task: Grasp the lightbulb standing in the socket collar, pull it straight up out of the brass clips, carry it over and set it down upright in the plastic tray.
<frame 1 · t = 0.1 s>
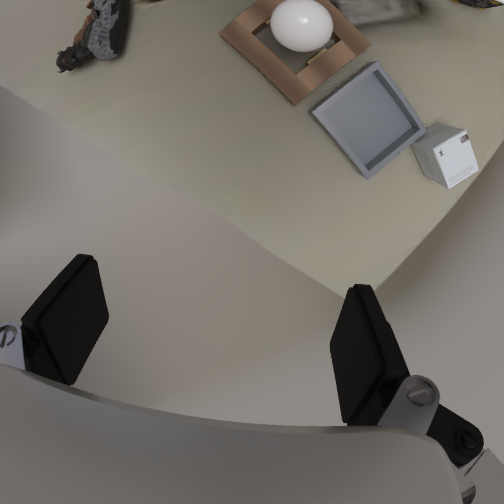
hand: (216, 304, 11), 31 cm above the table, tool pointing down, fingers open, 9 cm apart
tray: (366, 118, 35), on the table
lightbulb: (294, 38, 30), resting in socket collar
socket collar: (294, 38, 30), on the table
skincare box: (430, 147, 36), on the table
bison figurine: (102, 30, 29), on the table
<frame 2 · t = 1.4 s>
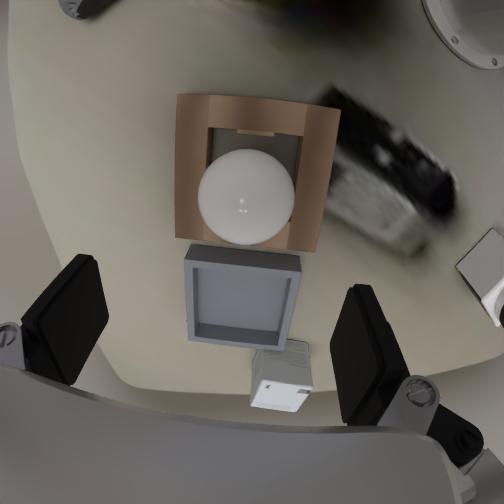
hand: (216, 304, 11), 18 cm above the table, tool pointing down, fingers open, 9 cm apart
tray: (241, 293, 33), on the table
lightbulb: (252, 168, 27), resting in socket collar
socket collar: (252, 168, 26), on the table
skincare box: (279, 351, 38), on the table
medicine bottle: (482, 261, 30), on the table
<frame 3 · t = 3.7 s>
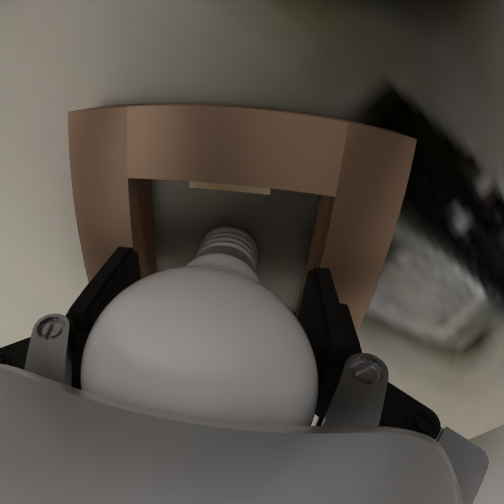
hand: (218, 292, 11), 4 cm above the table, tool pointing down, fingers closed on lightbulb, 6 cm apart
lightbulb: (230, 244, 15), resting in socket collar, touching gripper
socket collar: (229, 246, 14), on the table
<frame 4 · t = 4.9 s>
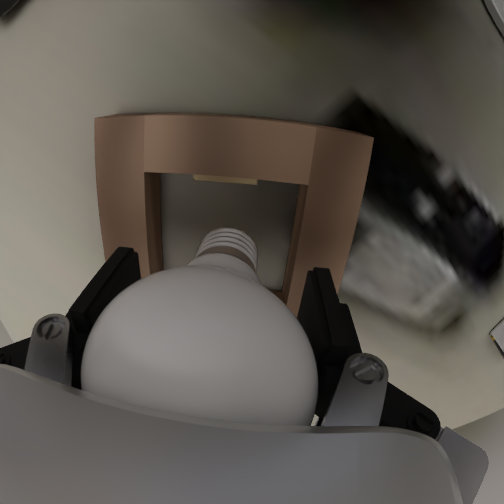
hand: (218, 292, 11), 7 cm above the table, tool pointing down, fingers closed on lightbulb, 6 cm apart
lightbulb: (230, 244, 15), point 3 cm above the table, touching gripper
socket collar: (225, 230, 17), on the table
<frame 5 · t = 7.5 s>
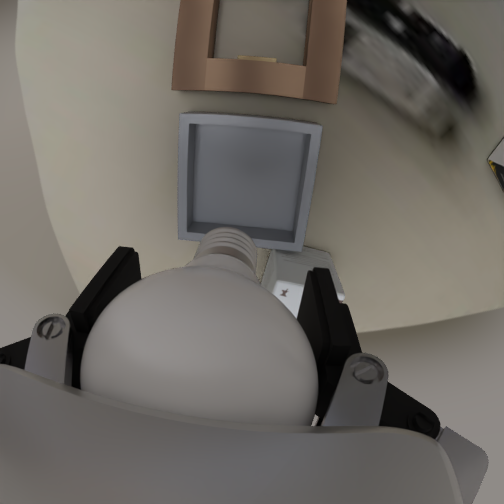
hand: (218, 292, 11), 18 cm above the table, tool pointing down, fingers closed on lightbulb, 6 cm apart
tray: (246, 175, 27), on the table
lightbulb: (229, 244, 14), point 14 cm above the table, touching gripper
socket collar: (261, 24, 20), on the table
skincare box: (294, 268, 31), on the table
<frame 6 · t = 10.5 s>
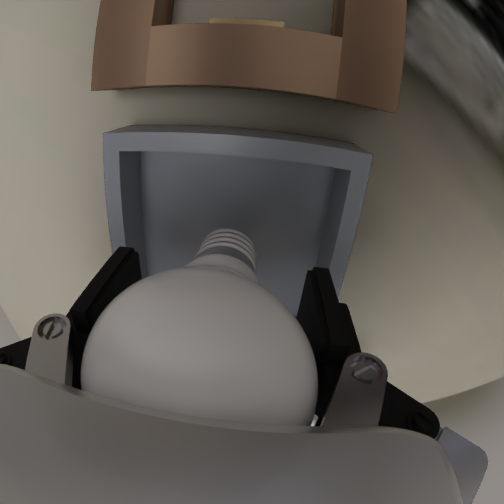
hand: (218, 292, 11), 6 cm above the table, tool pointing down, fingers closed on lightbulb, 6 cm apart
tray: (231, 232, 16), on the table
lightbulb: (229, 244, 15), point 2 cm above the table, touching gripper
when the fingers open (6 cm above the table, at t = 10.6 s): lightbulb drops 1 cm, resting on tray.
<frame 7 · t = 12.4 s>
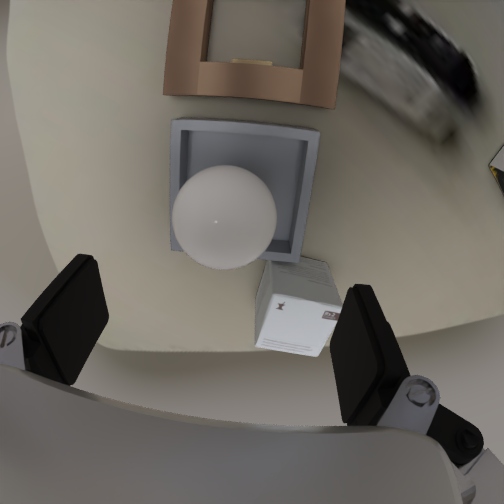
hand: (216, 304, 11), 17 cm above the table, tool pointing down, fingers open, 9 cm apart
tray: (241, 183, 26), on the table
lightbulb: (234, 182, 25), resting on tray
socket collar: (256, 26, 19), on the table
skincare box: (291, 279, 30), on the table
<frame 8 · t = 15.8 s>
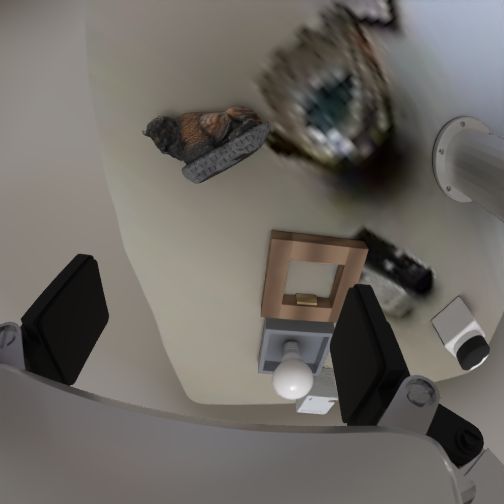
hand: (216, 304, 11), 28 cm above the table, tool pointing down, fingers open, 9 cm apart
tray: (293, 342, 50), on the table
lightbulb: (290, 343, 50), resting on tray
socket collar: (310, 275, 43), on the table
skincare box: (313, 375, 55), on the table
medicine bottle: (450, 315, 47), on the table
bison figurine: (212, 128, 34), on the table
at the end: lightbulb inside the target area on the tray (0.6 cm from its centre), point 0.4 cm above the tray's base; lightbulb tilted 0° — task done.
